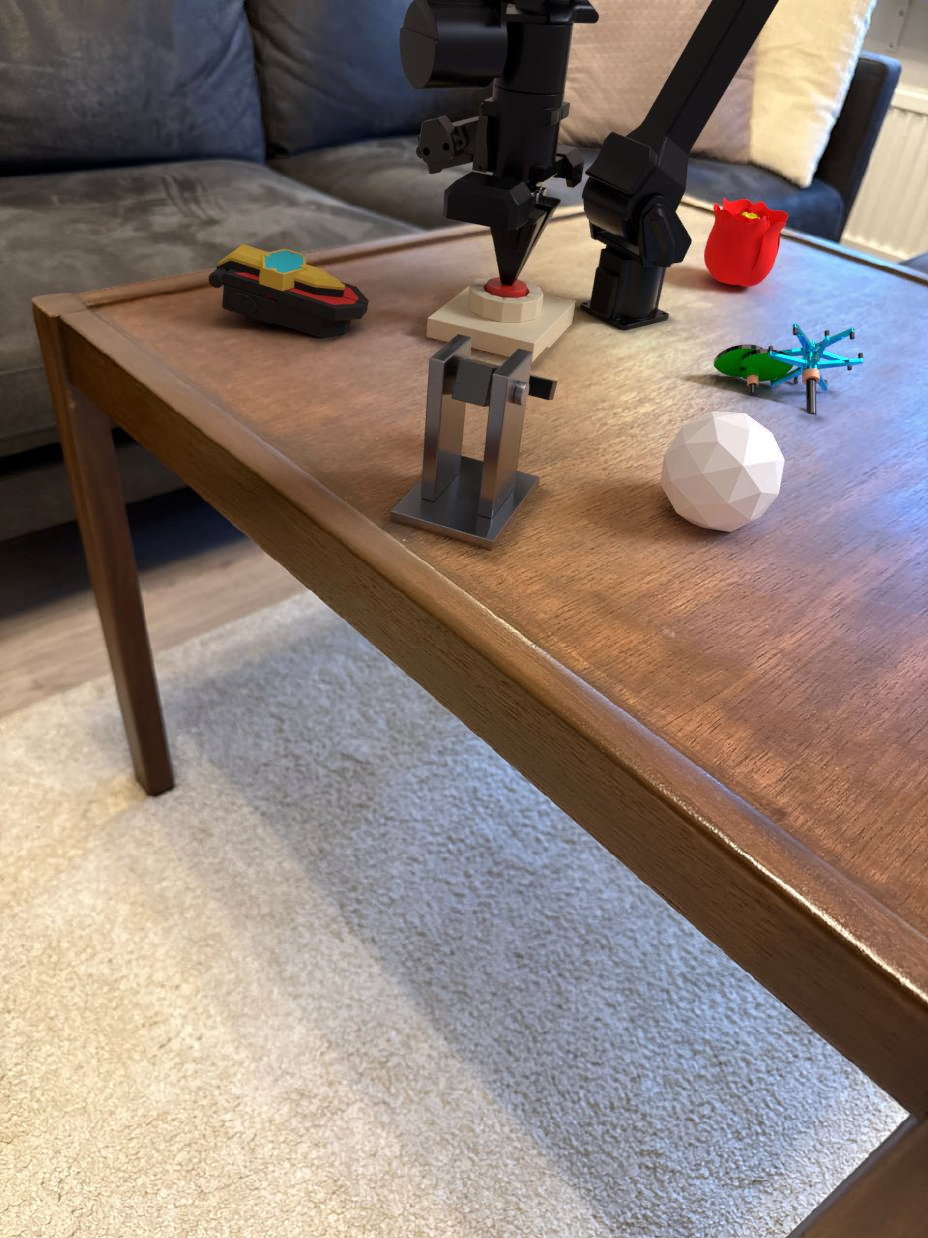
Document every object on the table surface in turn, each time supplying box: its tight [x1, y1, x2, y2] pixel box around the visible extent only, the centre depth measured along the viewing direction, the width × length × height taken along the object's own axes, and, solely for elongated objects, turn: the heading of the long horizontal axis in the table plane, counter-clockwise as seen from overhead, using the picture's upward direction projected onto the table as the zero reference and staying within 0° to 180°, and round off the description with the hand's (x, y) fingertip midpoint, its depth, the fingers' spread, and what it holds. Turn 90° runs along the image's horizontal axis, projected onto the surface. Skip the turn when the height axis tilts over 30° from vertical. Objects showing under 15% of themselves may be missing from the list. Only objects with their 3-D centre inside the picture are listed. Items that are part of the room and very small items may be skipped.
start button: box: [486, 276, 527, 298], centre depth 85 cm, size 4×4×2 cm
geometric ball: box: [659, 410, 786, 533], centre depth 62 cm, size 8×8×8 cm
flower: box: [703, 197, 789, 288], centre depth 101 cm, size 8×8×8 cm
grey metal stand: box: [390, 334, 541, 551], centre depth 60 cm, size 9×7×11 cm
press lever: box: [451, 358, 558, 408], centre depth 61 cm, size 11×5×2 cm, turn 158°
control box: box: [425, 276, 577, 363], centre depth 86 cm, size 12×10×4 cm
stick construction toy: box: [713, 323, 864, 417], centre depth 80 cm, size 12×7×8 cm
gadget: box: [208, 243, 370, 338], centre depth 84 cm, size 6×13×6 cm, turn 78°
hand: (507, 283), depth 85 cm, fingers closed, pressing on start button
